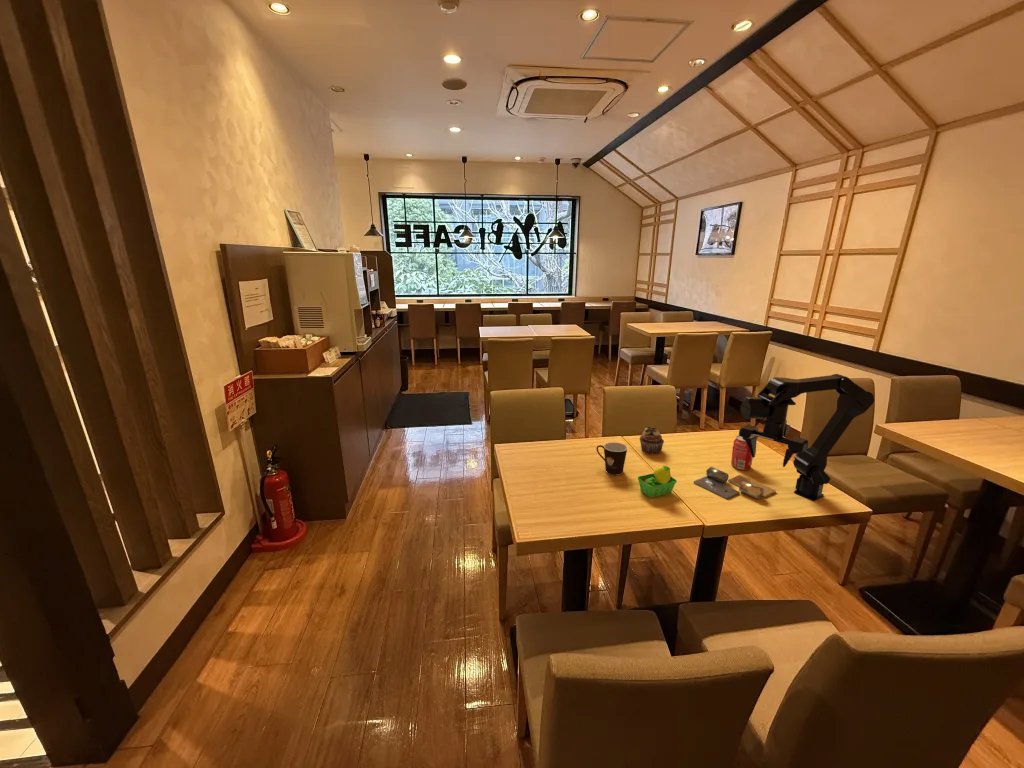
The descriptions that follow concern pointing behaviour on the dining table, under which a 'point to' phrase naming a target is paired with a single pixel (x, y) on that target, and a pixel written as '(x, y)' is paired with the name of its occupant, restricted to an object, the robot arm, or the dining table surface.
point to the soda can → (741, 454)
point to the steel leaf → (716, 483)
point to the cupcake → (651, 441)
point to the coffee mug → (614, 457)
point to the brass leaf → (751, 487)
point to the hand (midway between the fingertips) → (768, 461)
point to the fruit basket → (657, 482)
